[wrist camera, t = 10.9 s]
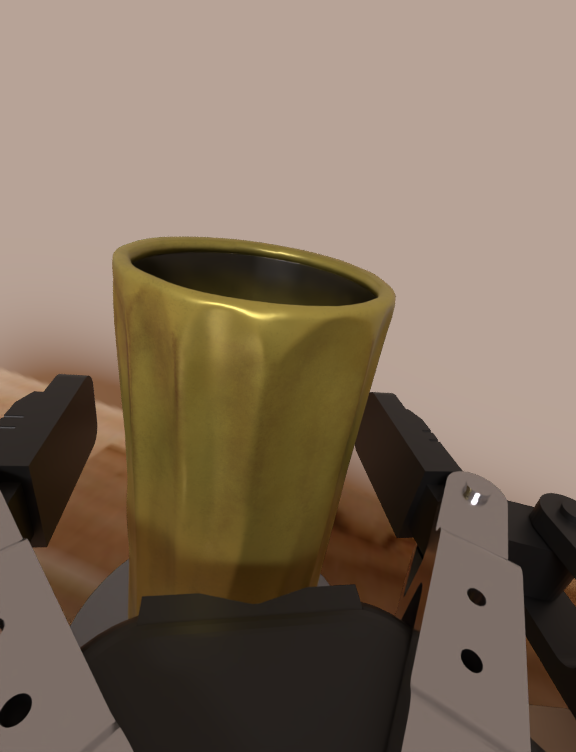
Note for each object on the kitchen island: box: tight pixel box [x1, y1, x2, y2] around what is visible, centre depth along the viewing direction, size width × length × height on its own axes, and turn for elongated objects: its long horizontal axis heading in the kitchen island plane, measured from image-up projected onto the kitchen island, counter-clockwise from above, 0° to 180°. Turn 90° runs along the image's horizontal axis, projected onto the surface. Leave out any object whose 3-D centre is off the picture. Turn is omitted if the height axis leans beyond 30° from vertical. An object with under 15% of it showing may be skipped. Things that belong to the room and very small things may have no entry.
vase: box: [112, 237, 396, 619], centre depth 11 cm, size 6×6×14 cm
